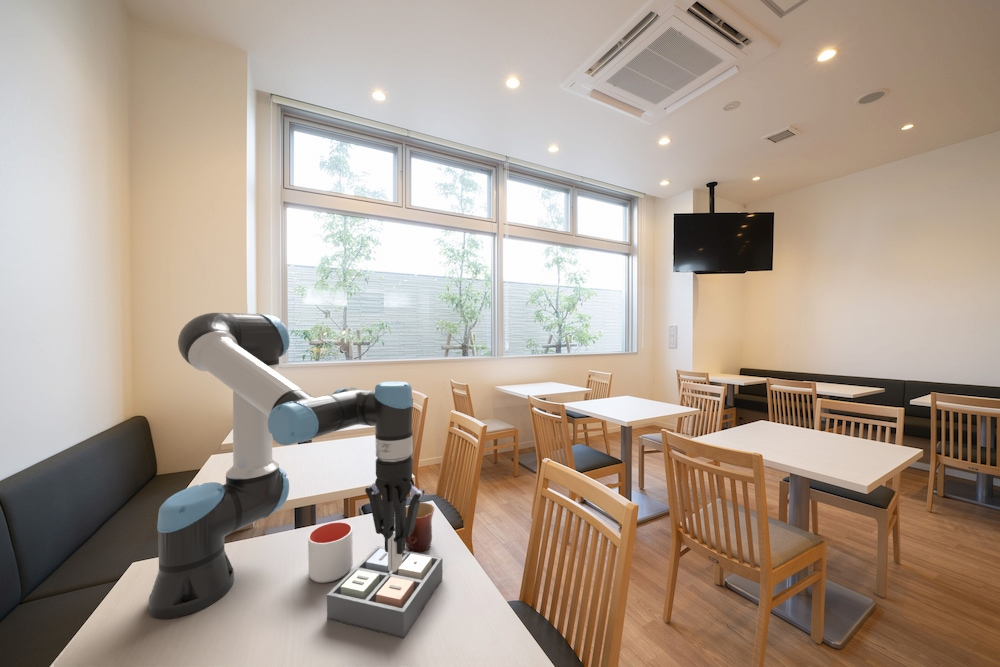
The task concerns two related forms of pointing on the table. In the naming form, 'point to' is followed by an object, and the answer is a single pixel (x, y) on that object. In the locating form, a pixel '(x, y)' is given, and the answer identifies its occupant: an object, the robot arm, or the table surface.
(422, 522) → the mug
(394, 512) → the robot arm
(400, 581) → the terracotta key
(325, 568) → the cup
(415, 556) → the cream key
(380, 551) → the slate key
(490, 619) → the table surface
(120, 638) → the table surface
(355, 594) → the sage key
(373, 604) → the grey compartment tray
